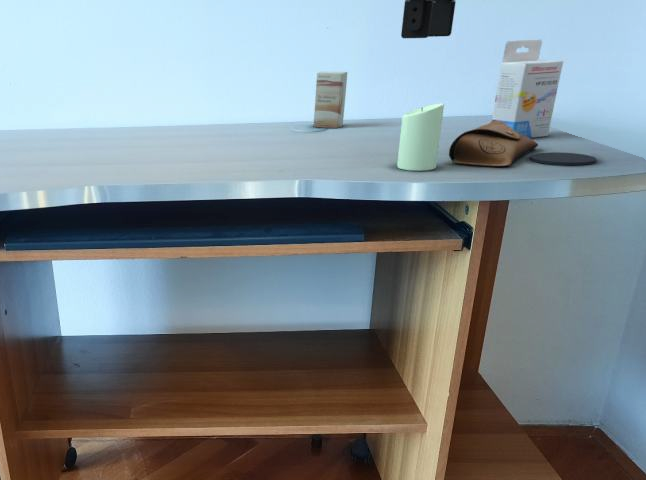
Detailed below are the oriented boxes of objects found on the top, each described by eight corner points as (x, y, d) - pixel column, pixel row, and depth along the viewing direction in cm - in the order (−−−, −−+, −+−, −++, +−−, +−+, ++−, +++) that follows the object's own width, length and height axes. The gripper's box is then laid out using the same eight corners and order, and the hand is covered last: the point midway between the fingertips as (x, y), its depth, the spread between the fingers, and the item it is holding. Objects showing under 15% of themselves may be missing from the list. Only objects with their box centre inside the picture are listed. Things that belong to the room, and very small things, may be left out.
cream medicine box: (312, 127, 127) (315, 72, 122) (318, 124, 130) (321, 71, 126) (338, 128, 125) (342, 72, 120) (344, 125, 128) (347, 70, 124)
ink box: (512, 141, 104) (530, 40, 98) (487, 137, 108) (503, 41, 102) (549, 136, 107) (569, 38, 101) (524, 132, 111) (541, 39, 105)
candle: (396, 170, 86) (403, 105, 82) (397, 164, 90) (404, 102, 86) (436, 171, 84) (444, 105, 81) (435, 164, 89) (443, 101, 85)
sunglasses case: (513, 164, 84) (493, 117, 83) (461, 187, 89) (442, 143, 88) (540, 144, 97) (523, 104, 96) (494, 165, 102) (477, 127, 101)
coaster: (598, 157, 89) (599, 154, 89) (592, 167, 83) (593, 164, 83) (535, 153, 93) (535, 150, 93) (525, 163, 87) (525, 160, 87)
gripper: (462, -150, 65) (437, 38, 72) (499, -122, 77) (474, 35, 85) (389, -138, 68) (373, 39, 76) (435, -114, 81) (417, 36, 89)
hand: (426, 37), depth 80 cm, fingers open, 9 cm apart
